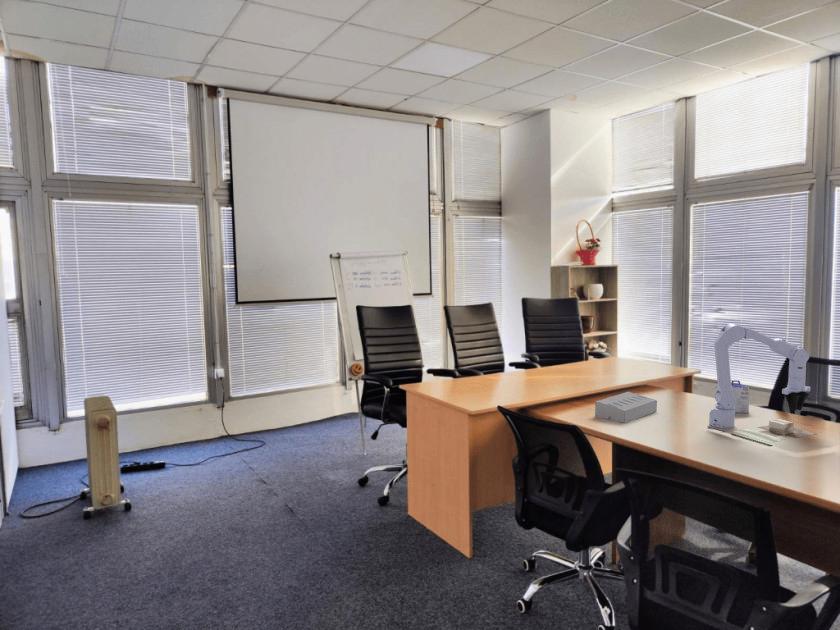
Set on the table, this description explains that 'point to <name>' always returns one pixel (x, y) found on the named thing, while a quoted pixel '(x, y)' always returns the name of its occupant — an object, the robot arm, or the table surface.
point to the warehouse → (625, 407)
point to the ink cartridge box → (741, 397)
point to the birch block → (781, 426)
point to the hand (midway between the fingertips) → (795, 410)
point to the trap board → (770, 435)
